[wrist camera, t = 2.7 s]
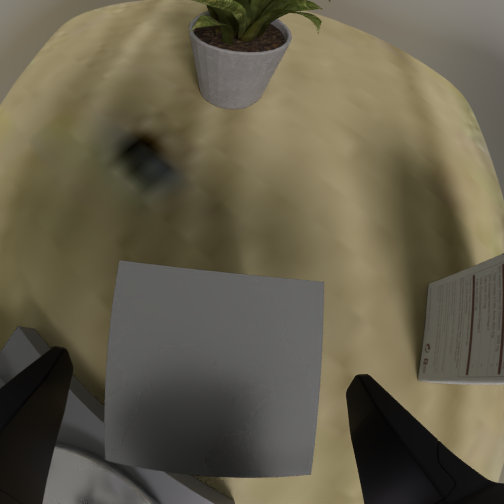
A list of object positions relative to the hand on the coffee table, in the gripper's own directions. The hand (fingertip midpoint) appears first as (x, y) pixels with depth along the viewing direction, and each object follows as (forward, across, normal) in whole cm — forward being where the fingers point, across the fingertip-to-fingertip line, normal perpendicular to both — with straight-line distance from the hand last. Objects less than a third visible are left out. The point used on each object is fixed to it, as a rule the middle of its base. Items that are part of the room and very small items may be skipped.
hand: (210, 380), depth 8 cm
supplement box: (+7, -18, +5) cm, 20 cm away
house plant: (+21, 0, -9) cm, 23 cm away
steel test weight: (+6, 0, +6) cm, 8 cm away
